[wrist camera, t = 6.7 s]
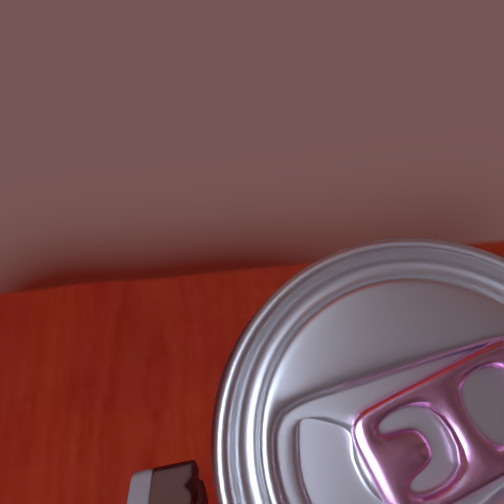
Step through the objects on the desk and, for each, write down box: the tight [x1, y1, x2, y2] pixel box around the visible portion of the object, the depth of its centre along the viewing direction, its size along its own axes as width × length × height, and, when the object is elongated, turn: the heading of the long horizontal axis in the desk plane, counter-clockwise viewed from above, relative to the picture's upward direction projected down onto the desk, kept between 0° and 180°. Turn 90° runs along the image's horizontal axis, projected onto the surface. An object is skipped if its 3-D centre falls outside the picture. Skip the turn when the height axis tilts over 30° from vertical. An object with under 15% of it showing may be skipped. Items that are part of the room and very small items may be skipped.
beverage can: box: [211, 238, 504, 504], centre depth 12 cm, size 6×6×15 cm
